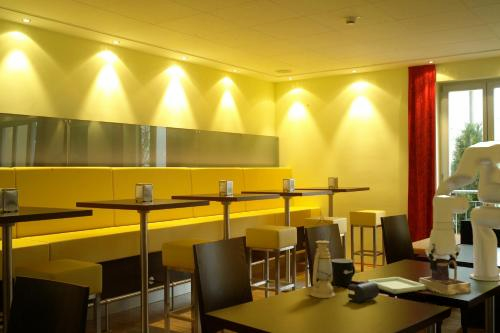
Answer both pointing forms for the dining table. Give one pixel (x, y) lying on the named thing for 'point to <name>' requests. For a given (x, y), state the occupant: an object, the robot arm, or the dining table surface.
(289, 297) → the dining table surface
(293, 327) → the dining table surface
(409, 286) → the tray
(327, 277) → the lantern
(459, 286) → the tray
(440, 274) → the mug
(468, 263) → the dining table surface
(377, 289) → the end cap
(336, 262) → the mug
